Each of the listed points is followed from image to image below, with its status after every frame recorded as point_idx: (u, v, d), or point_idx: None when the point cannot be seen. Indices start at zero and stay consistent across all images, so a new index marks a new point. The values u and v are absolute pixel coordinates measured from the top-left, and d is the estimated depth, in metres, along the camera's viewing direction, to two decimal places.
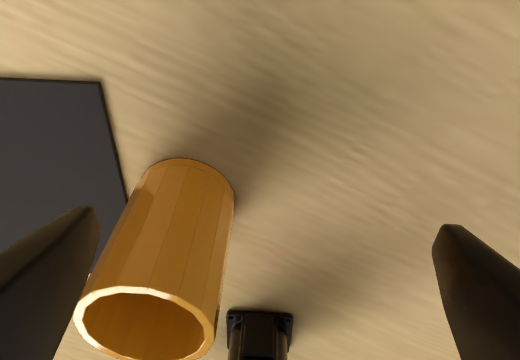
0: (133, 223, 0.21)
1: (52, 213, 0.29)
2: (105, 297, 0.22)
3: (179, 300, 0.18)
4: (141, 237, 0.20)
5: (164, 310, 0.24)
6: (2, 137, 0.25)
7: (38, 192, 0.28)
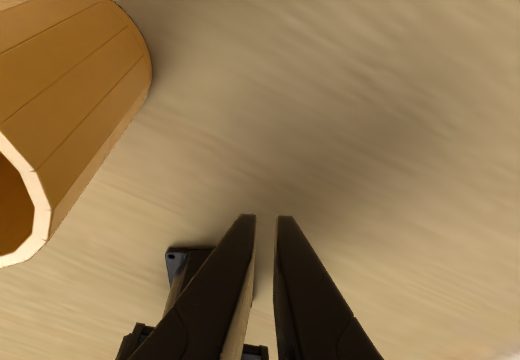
0: None
1: None
2: None
3: None
4: None
5: (17, 196, 0.15)
6: None
7: None
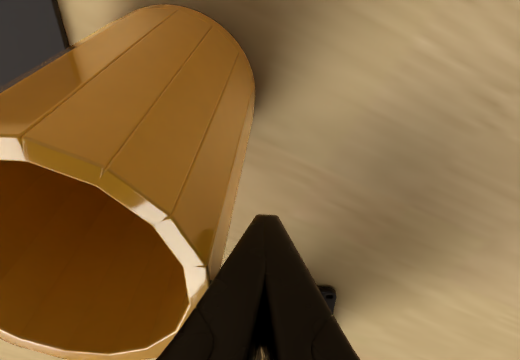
0: (47, 61, 0.10)
1: None
2: None
3: (112, 182, 0.07)
4: (50, 68, 0.09)
5: (126, 260, 0.13)
6: None
7: None
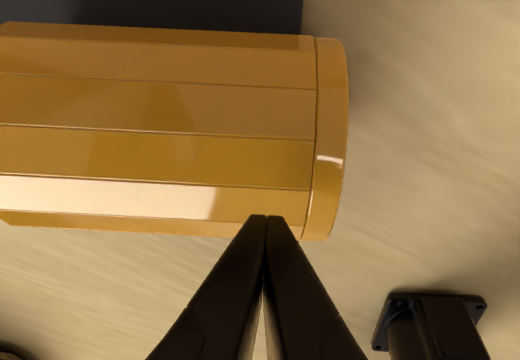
0: None
1: None
2: None
3: None
4: (99, 27, 0.12)
5: None
6: None
7: None
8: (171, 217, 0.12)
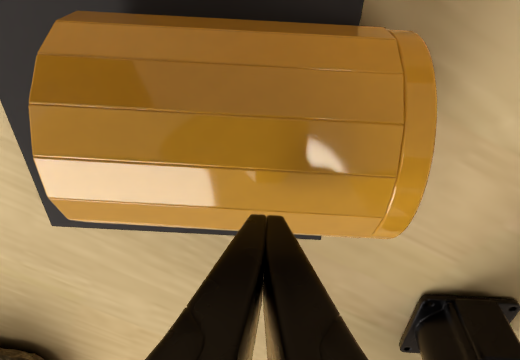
0: None
1: None
2: None
3: None
4: (170, 16, 0.12)
5: None
6: None
7: None
8: (245, 208, 0.11)
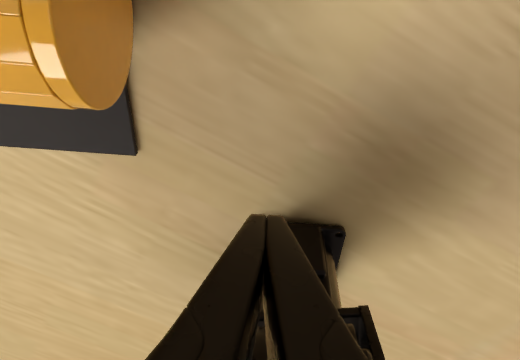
0: None
1: None
2: None
3: None
4: None
5: None
6: None
7: None
8: None
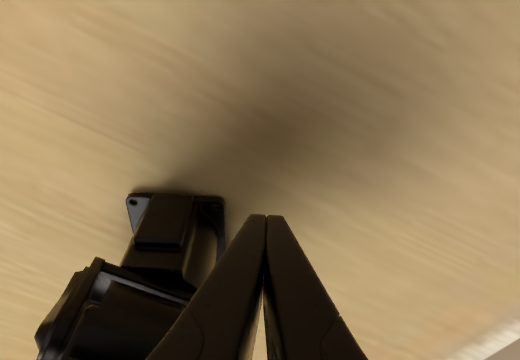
0: None
1: None
2: None
3: None
4: None
5: None
6: None
7: None
8: None
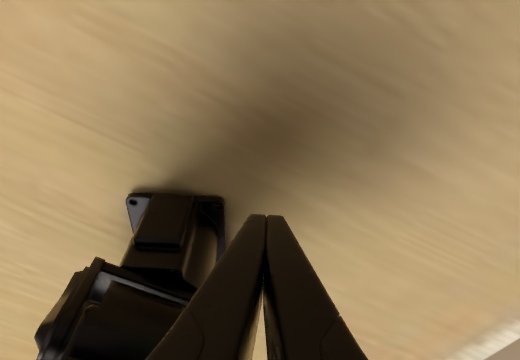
0: None
1: None
2: None
3: None
4: None
5: None
6: None
7: None
8: None
